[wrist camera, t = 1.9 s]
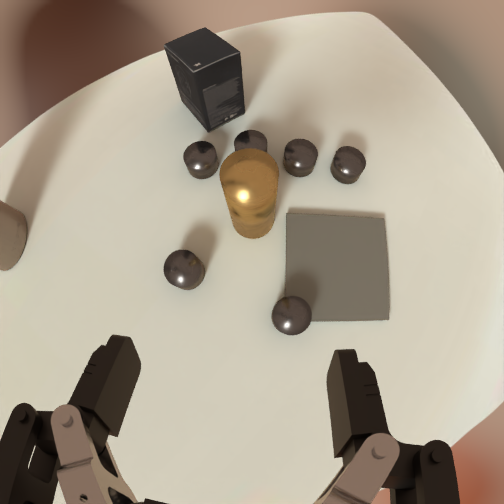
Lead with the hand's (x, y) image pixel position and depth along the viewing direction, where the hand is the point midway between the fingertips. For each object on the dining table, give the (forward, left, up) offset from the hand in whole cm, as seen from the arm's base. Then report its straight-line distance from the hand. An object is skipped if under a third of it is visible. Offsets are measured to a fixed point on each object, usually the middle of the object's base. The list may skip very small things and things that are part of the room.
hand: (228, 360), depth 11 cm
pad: (+9, +7, -18) cm, 21 cm away
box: (-6, +28, -18) cm, 34 cm away
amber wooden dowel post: (0, +12, -18) cm, 22 cm away
